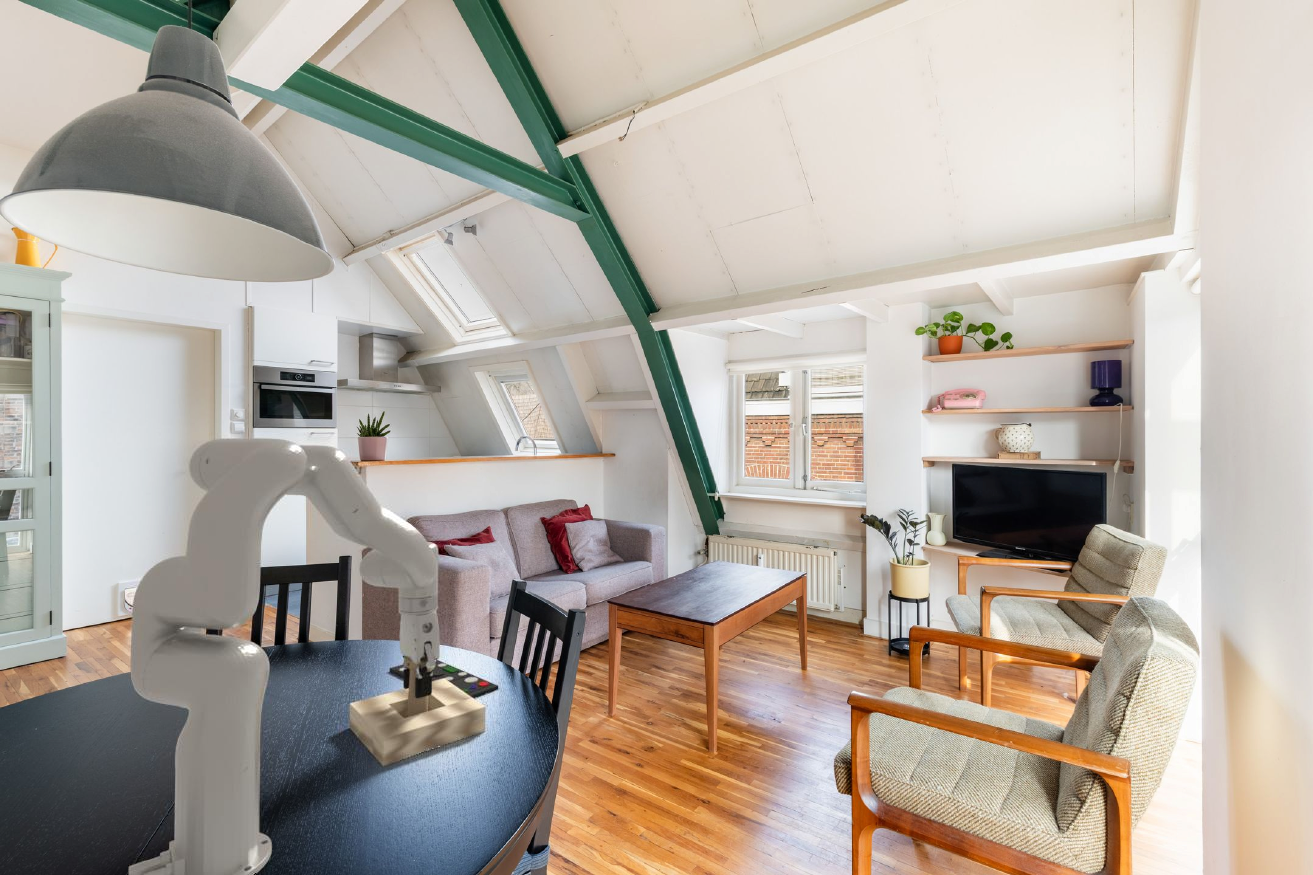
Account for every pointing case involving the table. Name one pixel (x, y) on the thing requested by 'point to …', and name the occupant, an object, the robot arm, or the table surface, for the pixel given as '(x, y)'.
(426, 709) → the handle
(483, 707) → the socket block
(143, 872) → the robot arm
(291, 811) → the table surface
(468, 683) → the remote control
